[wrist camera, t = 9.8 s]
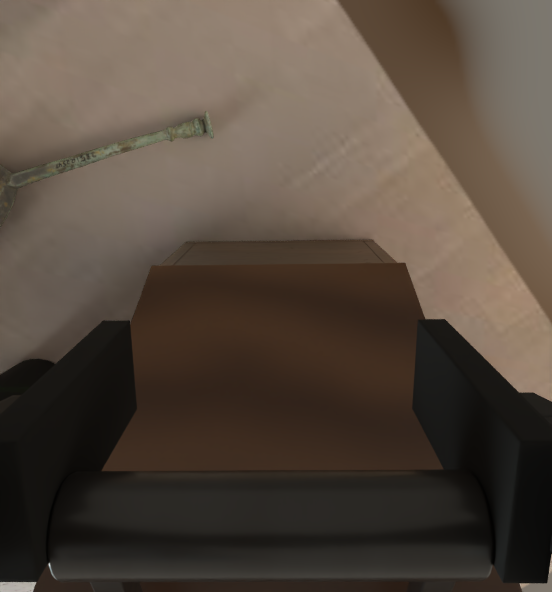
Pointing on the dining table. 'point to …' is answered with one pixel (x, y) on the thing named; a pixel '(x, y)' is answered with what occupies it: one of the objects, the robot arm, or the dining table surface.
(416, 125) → the dining table surface
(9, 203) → the soupspoon
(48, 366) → the cup
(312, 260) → the chest
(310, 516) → the lid
